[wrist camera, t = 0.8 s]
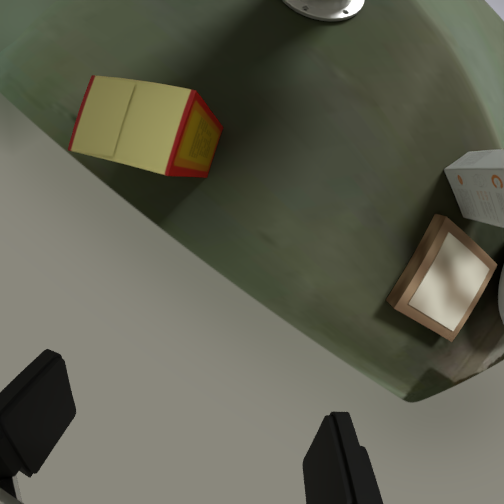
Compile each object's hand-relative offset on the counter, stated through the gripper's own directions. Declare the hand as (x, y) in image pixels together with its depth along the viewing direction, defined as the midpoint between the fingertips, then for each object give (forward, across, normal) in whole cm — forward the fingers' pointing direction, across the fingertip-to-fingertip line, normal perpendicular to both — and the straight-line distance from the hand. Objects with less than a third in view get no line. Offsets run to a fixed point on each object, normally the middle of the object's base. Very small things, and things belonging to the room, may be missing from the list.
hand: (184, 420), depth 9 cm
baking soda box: (+29, +10, -11) cm, 33 cm away
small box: (+30, -30, -14) cm, 45 cm away
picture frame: (+29, -30, 0) cm, 42 cm away
